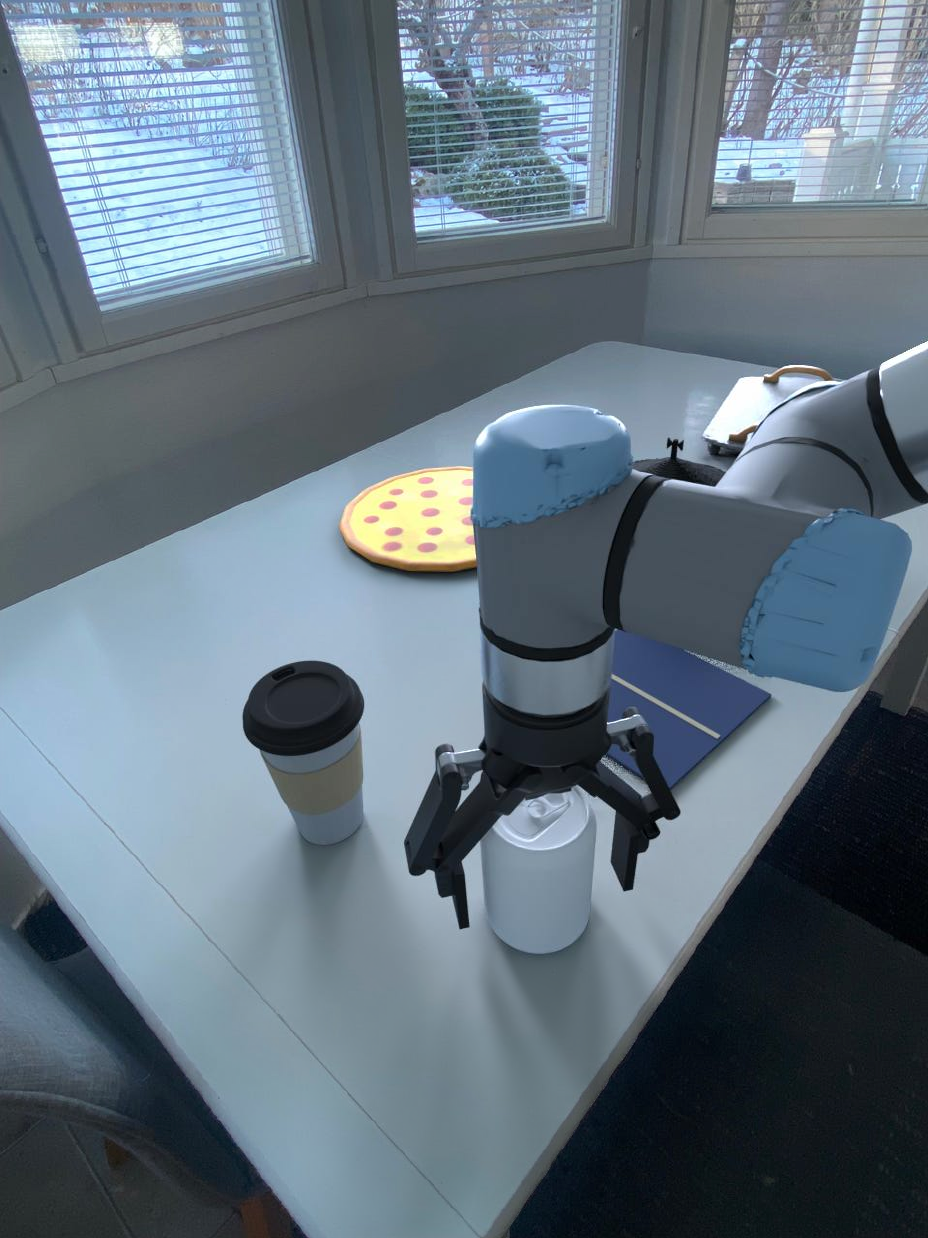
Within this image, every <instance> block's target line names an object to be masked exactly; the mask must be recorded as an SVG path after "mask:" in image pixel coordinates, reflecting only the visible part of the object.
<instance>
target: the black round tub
mask: <svg viewBox="0 0 928 1238" xmlns="http://www.w3.org/2000/svg"><path fill="white" fill-rule="evenodd" d="M684 443H685V439H682V440H681V441H679V439H678V438H674V439H673V440H672V439H671V438H670V437H669V436H668V437H667V440H666V449H669V448H670V449H671V450H670V457H669V456H668V457H666V456H665V457H661V458H646V459H640V460H633V469H634V470H636V471H639V472H643V473H649V474H654V475H656V476H658V477H663V478H668V479H674V480H679V481H685V482H690V483H695V484H701V485H706V486H712V487H715V486H716V485H717V484H718V483H719V481H720V480H721V479H722V477H723V476H724V475H725V474H726V472H727V471H725V470H723V469H721V468H718V467H715V466H713V465H710V464H706V463H705V464H704V463H701V462H700V463H699V462H694V461H690V460H687V459H683V458H680V457H678V449H679V450H680V451H681V452H683V451H684Z"/></svg>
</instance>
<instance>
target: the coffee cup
mask: <svg viewBox="0 0 928 1238" xmlns="http://www.w3.org/2000/svg"><path fill="white" fill-rule="evenodd" d="M364 711H365V698H364V695H363V693H362V691H361V689H360V685H358V683H357V682H356V680H355V679H354V678H353V677H351V675H349V674H347V673H346V672H345V671H344V670H343V669H342V668H340V667H339V666H337V665H335V664H333V663H331V662H327V661H322V660H311V659H310V660H300V661H294V662H290V663H287V664H283V665H281V666H279V667H277V668H275V669H273V670H271V671H269V672H267V673H266V674H265V675H263V676H262V677H261V678H260V679H258V681H256V683H255V684H254V685H253V687H252V688H251V690H250V692H249V695H248V696H247V700H246V702H245V704H244V707H243V710H242V716H241V717H242V730H243V733H244V735H245V738H246V739H247V741H248V742H249V743H250V744H251V745H252V746H254V747H255V748H256V749H258V750H259V752H260V756H261V758H262V760H263V762H264V764H265V767H266V769H267V771H268V773H269V775H270V777H271V779H272V781H273V783H274V785H275V788H276V790H277V792H278V794H279V796H280V798H281V800H282V801H283V804H285V805H286V807H287V809H288V812H289V813H290V815H291V818H292V820H293V822H294V823H295V825H296V828H297V829H298V831H299V833H300V834H301V836H302V837H303V838H304V839H305V840H306V841H308V842H309V843H311V844H314V845H317V846H331V845H335V844H337V843H341V842H343V841H344V840H346V839H348V838H349V837H350V836H352V835H353V834H354V833H355V832H356V831H357V830H359V827H360V826H361V825H362V822H363V819H364V815H365V814H364V812H365V811H364V796H363V795H364V793H363V792H364V791H363V783H364V761H363V759H364V758H363V743H362V742H363V741H362V730H361V724H360V721H361V719H362V717H363V715H364Z"/></svg>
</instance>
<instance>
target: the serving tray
mask: <svg viewBox="0 0 928 1238" xmlns="http://www.w3.org/2000/svg"><path fill="white" fill-rule="evenodd" d="M785 374H806V375H813V376H817V377H819V378H822V379H823V380H822V379H815V378H805V377H793V376H782V375H785ZM834 380H835V379H834V377H833V376H832V375H831V373H829V371H827V370H825V369H824V368H821V367H816V366H811V365H801V364H800V365H797V364H796V365H787V366H783V367H781V368H779V369H777V370H776V371H775V372H773V373H771V374H764V376H745V377H741V378H739V379H738V380H737V382H736V383H735V385H734V386H733V388H732V390H730V392H729V393H728V395H727V397H726V398H725V399H724V401H723V403H722V404H721V405H720V407H719V408H718V411H717V412H716V413H715V415H714V416H713V417H712V419H711V421H710V422H709V424H708V426H706V428H705V430H704V432H703V433H702V435H701V438H700V439H701V440H702V441H703V442H706V443H708V444H707V452H708V454H710V455H718V453H720V451H721V449H722V448H725V449H729V450H732V451H736V452H740V453H741V452H742V451H743V449H744V448H745V447H746V445H747V444H748V443H749V441H750V439H751V437H752V435H753V433H754V431H755V430H756V428H757V426H758V424H759V423H760V422H761V421H762V420H763V419H765V418H766V416H767V415H768V414H769V412H770V411H771V410H772V409H773V408H774V407H776V406H777V405H778V404H780V403H782V402H783V401H784V400H785V399H787V398H788V397H789V396H790V395H792V394H793V393H795V392H796V391H798V390H800V389H802V388H804V387H806V386H809V385H812V384H814V383H819V382H824V381H834Z"/></svg>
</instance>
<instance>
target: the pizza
mask: <svg viewBox="0 0 928 1238" xmlns="http://www.w3.org/2000/svg"><path fill="white" fill-rule="evenodd" d="M472 506H473V466H472V467H471V466H462V465H461V466H446V467H433V468H432V467H431V468H423V469H420V470H414V471H412V472H407V473H403V474H399V475H393V476H391V477H389V478H386V479H385V480H383V481H380V482H378V483H376V484H374V485H371V486H369V487H367V488H365V489H363V490H362V491H361V492H360V493H359V494H358V495H357V496H356V497H354V498H353V499H352V500H351V501H350V502H349V503H348V504H346V505H345V507H344V510H343V514H342V516H341V519H340V522H339V525H338V529H339V530H340V532H341V535H342V536H343V539H344V542H345V543H346V545H347V547H349V548H350V549H351V550H353V551H354V552H356V553H358V555H359V554H360V555H361V556H363V557H364V558H365V559H367V560H369V561H370V562H372V563H375V564H379V565H384V566H386V567H387V566H388V567H391V568H396V569H399V570H403V571H407V572H437V573H438V572H440V573H441V572H442V573H443V572H444V573H453V572H458V571H465V570H469V569H475V568H476V569H477V562H476V552H475V542H474V532H473V523H472V521H471V520H470V509H471V508H472Z"/></svg>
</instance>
